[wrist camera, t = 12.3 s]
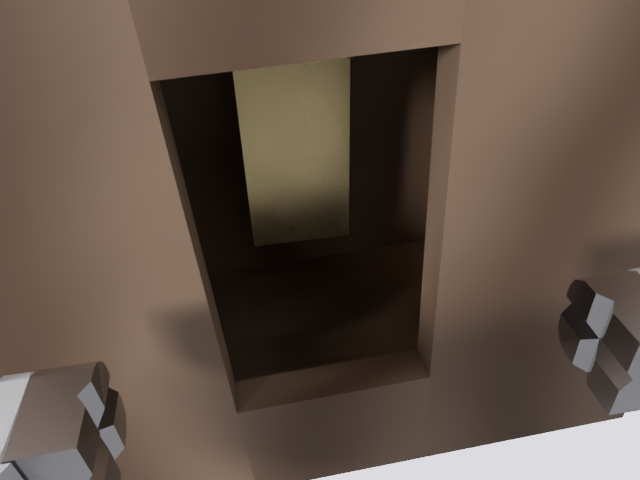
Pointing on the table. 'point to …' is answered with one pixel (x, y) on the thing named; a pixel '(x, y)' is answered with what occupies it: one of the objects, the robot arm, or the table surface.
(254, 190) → the tan rectangular block
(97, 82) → the slot box
